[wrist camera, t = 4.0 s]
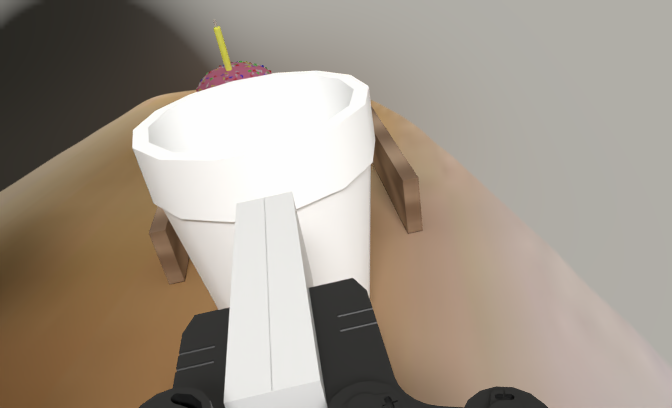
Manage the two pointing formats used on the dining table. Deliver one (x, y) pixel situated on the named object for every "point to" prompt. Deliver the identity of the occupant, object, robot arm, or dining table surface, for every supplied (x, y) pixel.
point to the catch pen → (387, 164)
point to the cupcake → (229, 68)
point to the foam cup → (265, 168)
